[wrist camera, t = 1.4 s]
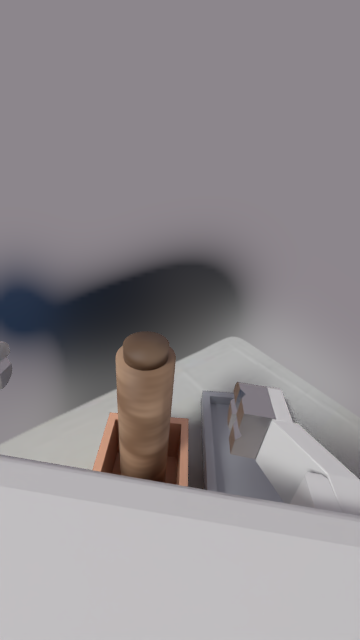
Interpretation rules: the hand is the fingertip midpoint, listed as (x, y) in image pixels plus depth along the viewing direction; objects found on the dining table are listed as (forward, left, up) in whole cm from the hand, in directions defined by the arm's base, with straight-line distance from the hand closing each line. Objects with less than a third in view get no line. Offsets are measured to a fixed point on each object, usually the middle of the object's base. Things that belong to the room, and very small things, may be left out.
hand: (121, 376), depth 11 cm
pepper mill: (0, -11, -26) cm, 28 cm away
